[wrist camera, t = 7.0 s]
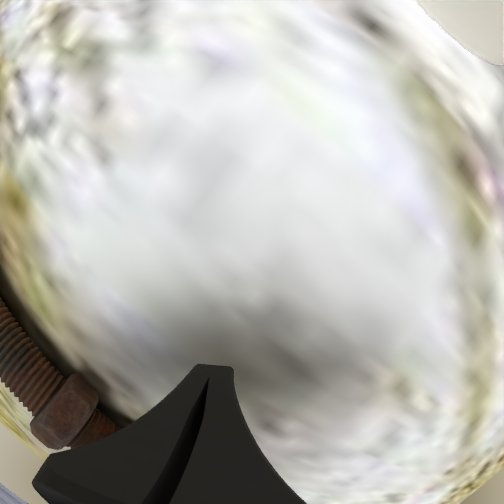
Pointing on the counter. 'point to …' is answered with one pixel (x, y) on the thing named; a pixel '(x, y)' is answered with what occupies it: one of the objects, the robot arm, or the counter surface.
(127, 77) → the counter surface
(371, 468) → the counter surface
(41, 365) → the bolt
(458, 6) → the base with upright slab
